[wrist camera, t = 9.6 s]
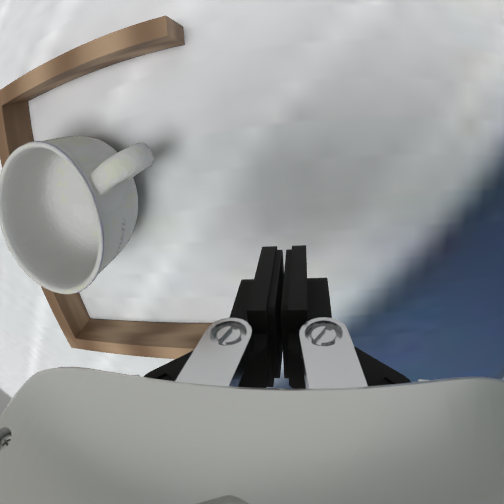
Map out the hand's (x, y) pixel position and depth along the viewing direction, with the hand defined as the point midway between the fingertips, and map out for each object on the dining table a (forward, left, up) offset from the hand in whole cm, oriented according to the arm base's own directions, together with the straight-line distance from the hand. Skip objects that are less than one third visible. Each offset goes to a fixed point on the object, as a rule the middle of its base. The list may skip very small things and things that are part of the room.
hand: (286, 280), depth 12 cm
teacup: (+14, -2, -12) cm, 19 cm away
